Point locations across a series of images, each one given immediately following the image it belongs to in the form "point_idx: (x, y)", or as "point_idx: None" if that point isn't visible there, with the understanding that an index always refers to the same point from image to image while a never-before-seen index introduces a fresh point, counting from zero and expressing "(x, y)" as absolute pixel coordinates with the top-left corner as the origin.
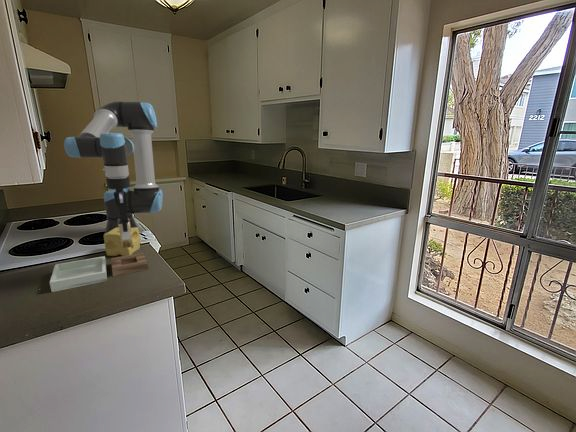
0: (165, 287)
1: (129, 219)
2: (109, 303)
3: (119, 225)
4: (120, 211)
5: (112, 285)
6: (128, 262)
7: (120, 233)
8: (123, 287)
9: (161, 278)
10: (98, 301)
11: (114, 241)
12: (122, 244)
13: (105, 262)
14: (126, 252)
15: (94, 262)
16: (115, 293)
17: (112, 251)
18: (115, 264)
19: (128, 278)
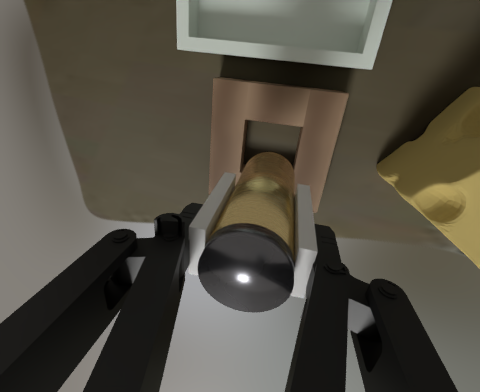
0: (85, 186)
1: (233, 301)
2: (37, 38)
3: (232, 213)
4: (4, 332)
5: (149, 64)
6: (297, 148)
7: (246, 184)
8: (122, 93)
9: (138, 195)
10: (56, 6)
11: (471, 142)
12: (253, 160)
13: (321, 64)
14: (388, 164)
15: (368, 14)
16: (91, 64)
17: (453, 115)
18: (263, 99)
19: (178, 120)
